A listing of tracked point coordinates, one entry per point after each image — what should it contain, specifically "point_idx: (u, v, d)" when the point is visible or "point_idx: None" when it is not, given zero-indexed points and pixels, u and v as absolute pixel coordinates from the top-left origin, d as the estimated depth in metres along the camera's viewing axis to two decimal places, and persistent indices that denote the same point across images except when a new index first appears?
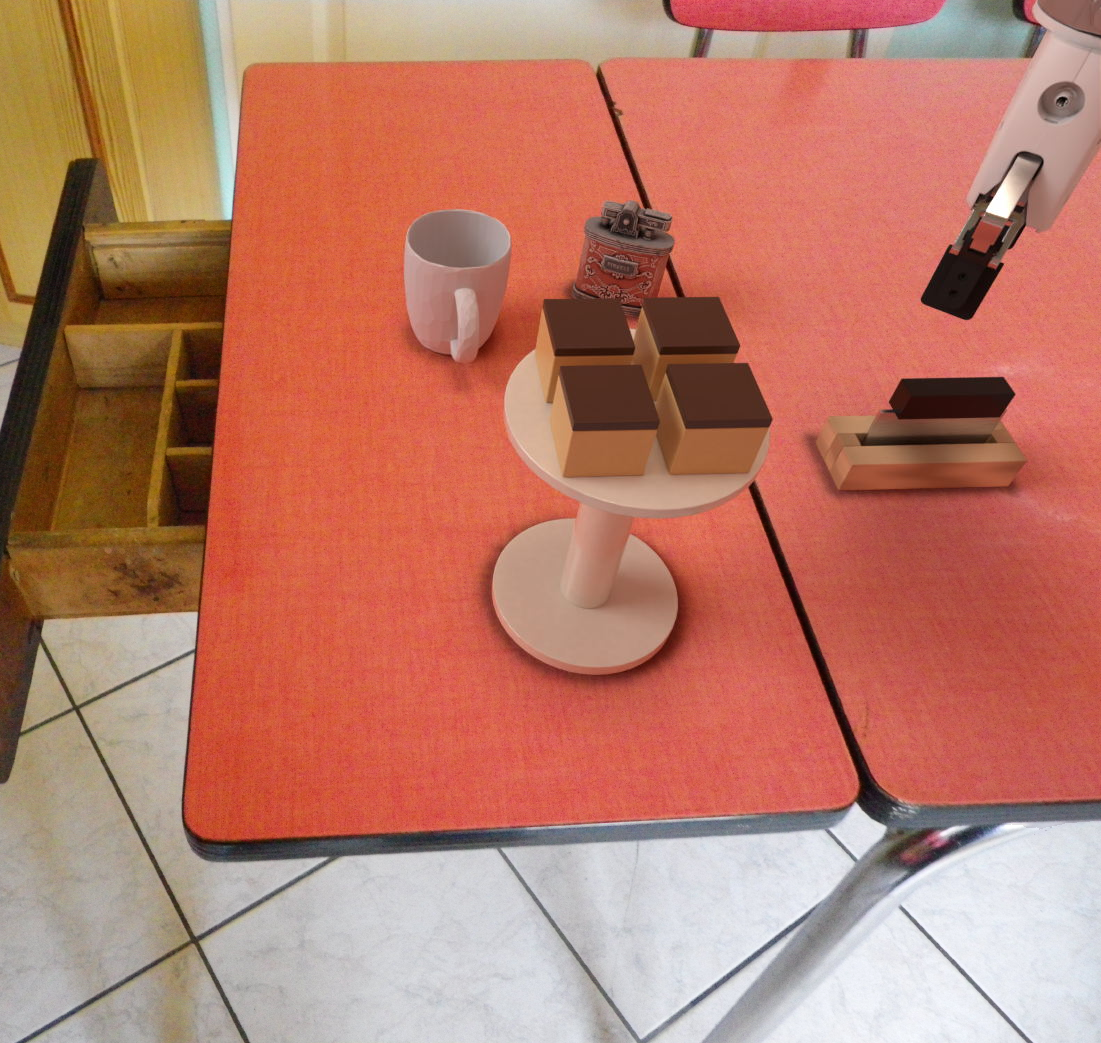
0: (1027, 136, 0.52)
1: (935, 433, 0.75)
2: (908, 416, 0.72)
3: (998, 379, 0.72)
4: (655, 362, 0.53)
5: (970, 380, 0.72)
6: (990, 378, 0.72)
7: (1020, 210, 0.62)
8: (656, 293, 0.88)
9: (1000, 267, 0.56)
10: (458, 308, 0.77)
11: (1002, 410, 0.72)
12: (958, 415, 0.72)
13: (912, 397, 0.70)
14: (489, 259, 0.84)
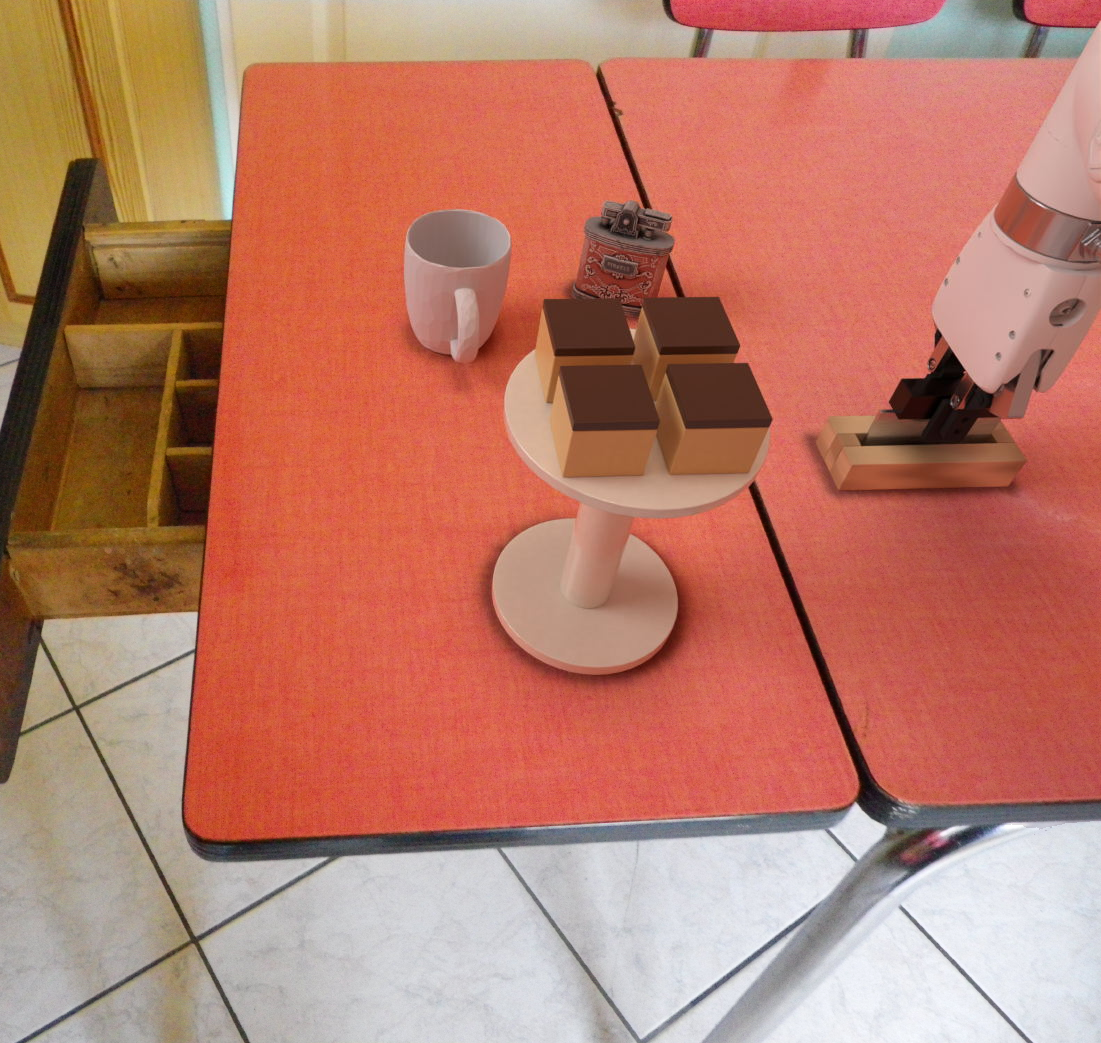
0: (1042, 340, 0.62)
1: None
2: (908, 416, 0.72)
3: None
4: (655, 362, 0.53)
5: None
6: None
7: None
8: (656, 293, 0.88)
9: None
10: (458, 308, 0.77)
11: None
12: None
13: (912, 397, 0.70)
14: (489, 259, 0.84)
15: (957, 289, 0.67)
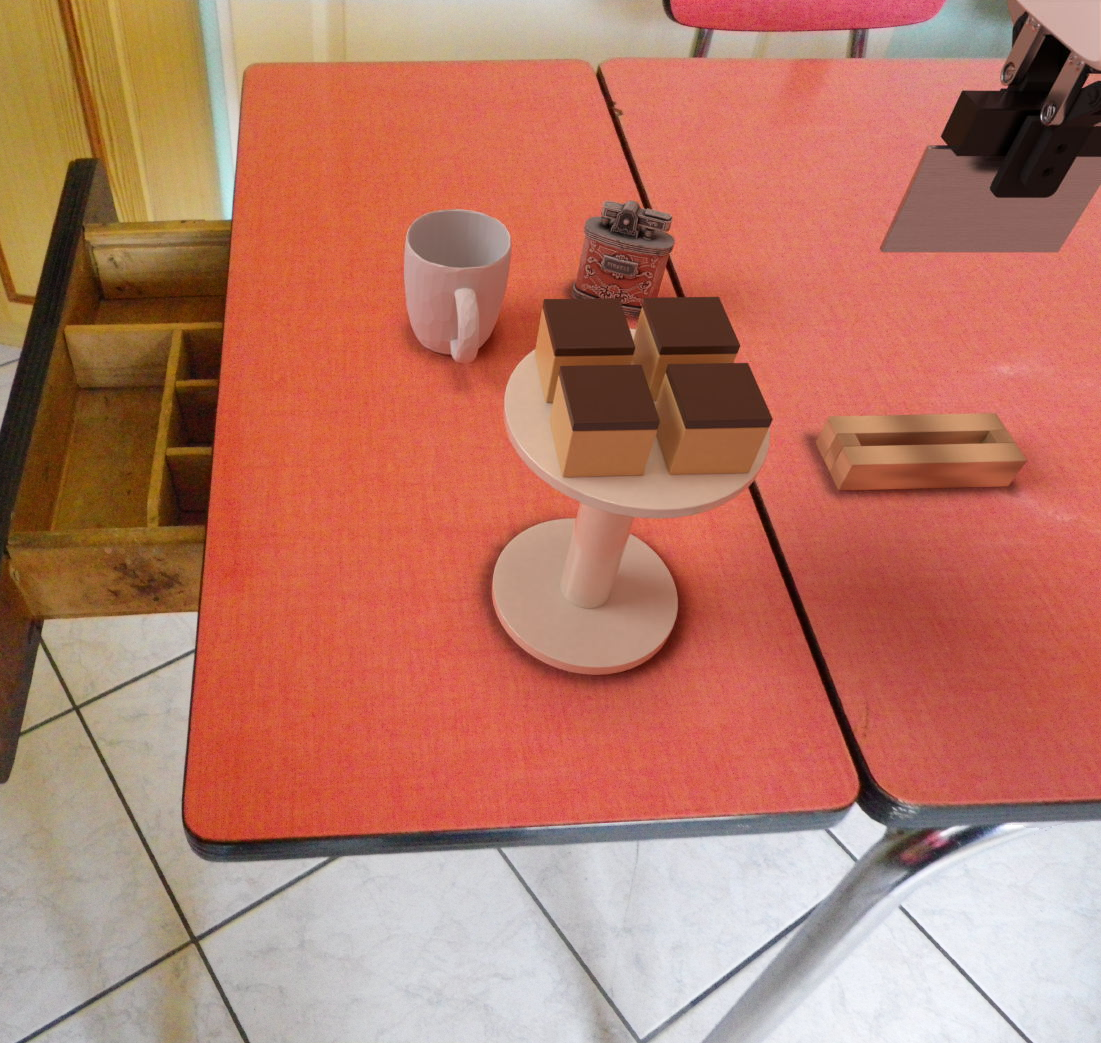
0: None
1: None
2: (971, 149, 0.47)
3: None
4: (655, 362, 0.53)
5: None
6: None
7: None
8: (656, 293, 0.88)
9: None
10: (458, 308, 0.77)
11: None
12: None
13: (980, 110, 0.45)
14: (489, 259, 0.84)
15: None
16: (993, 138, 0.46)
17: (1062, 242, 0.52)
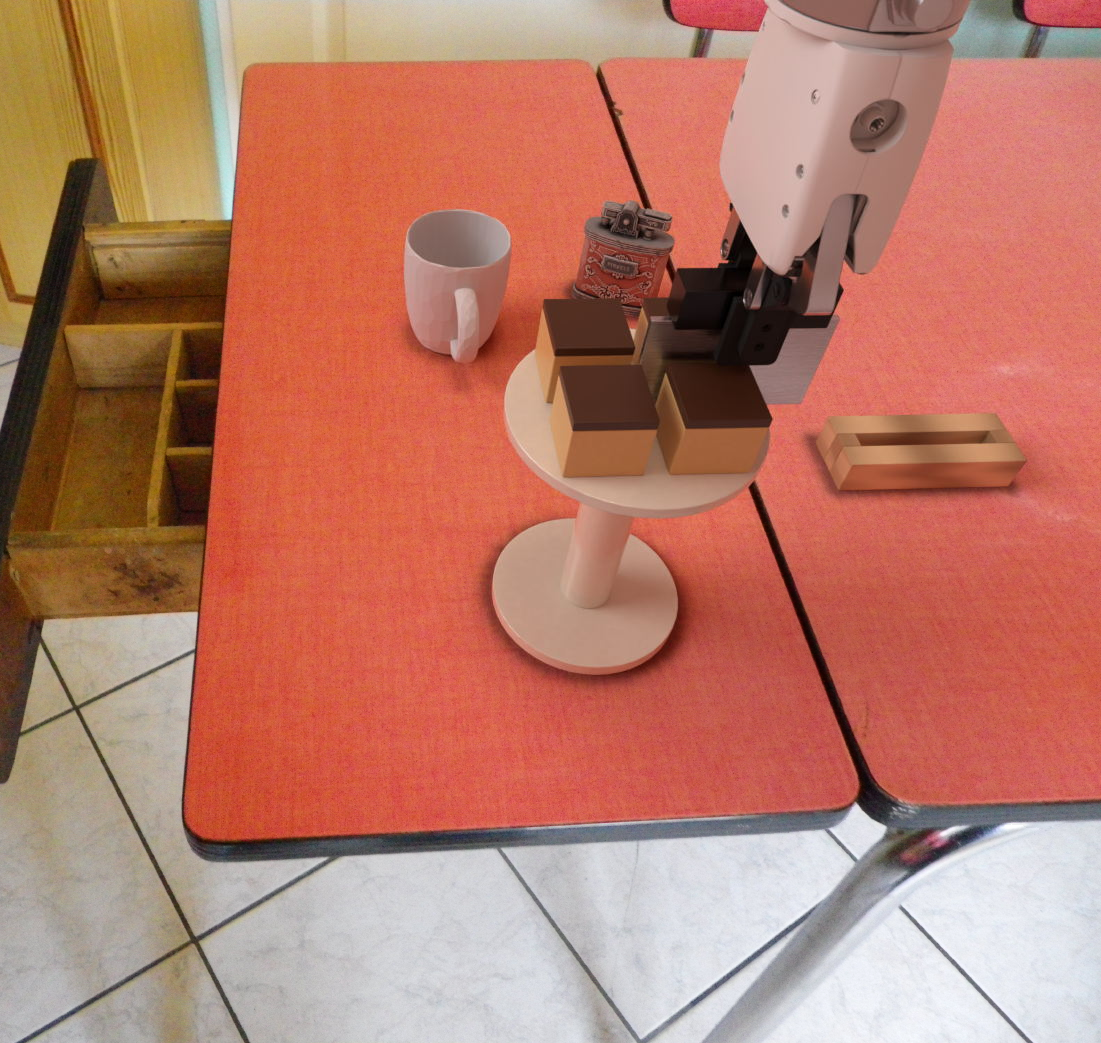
0: (844, 177, 0.38)
1: None
2: (688, 324, 0.48)
3: None
4: None
5: None
6: None
7: None
8: (656, 293, 0.88)
9: None
10: (458, 308, 0.77)
11: (828, 316, 0.49)
12: None
13: (687, 292, 0.47)
14: (489, 259, 0.84)
15: (741, 120, 0.44)
16: (706, 315, 0.48)
17: (803, 396, 0.54)
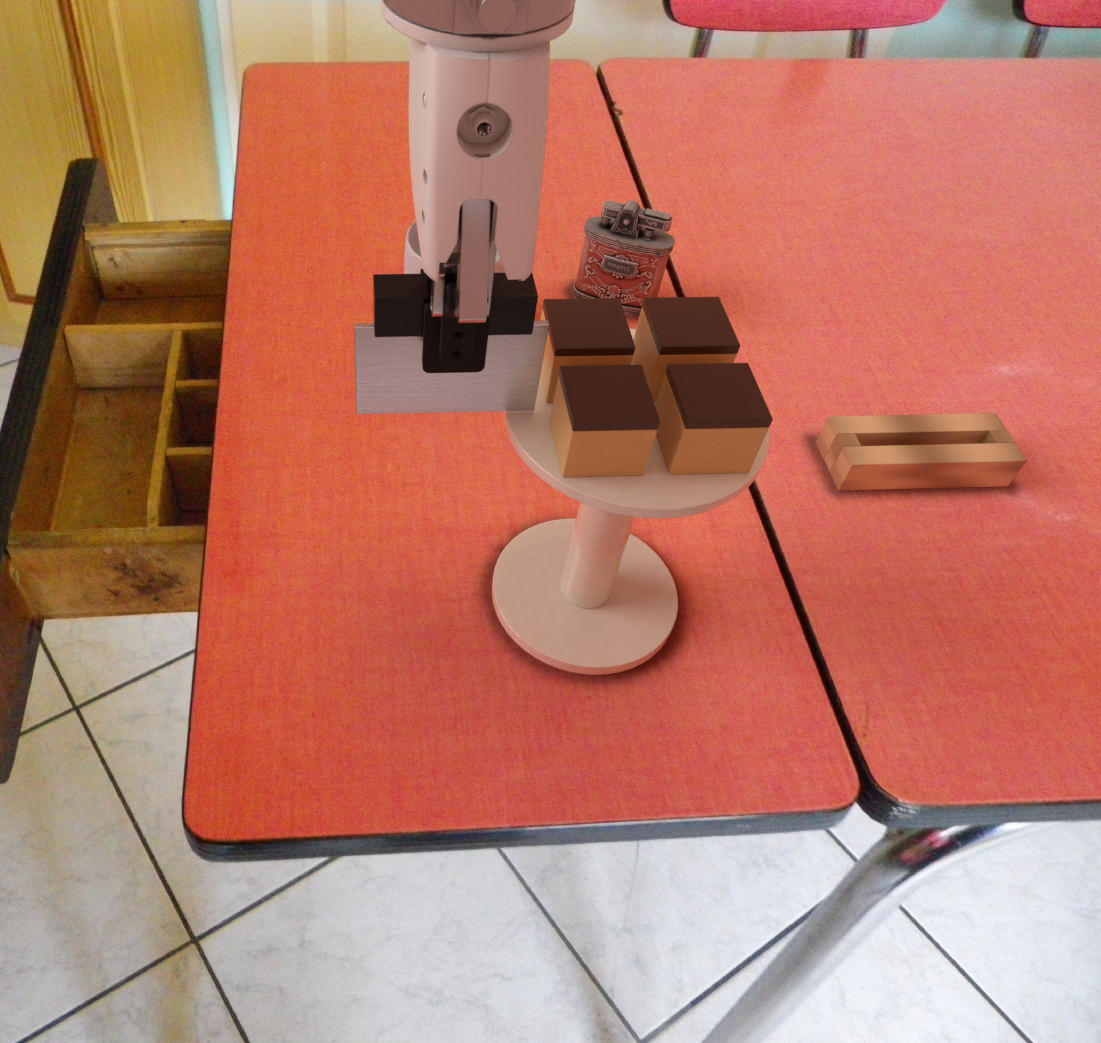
0: (464, 182, 0.37)
1: None
2: (386, 331, 0.48)
3: None
4: (655, 362, 0.53)
5: None
6: None
7: None
8: (656, 293, 0.88)
9: (489, 309, 0.46)
10: None
11: (530, 322, 0.48)
12: None
13: (376, 299, 0.46)
14: None
15: None
16: (403, 321, 0.47)
17: (533, 402, 0.53)
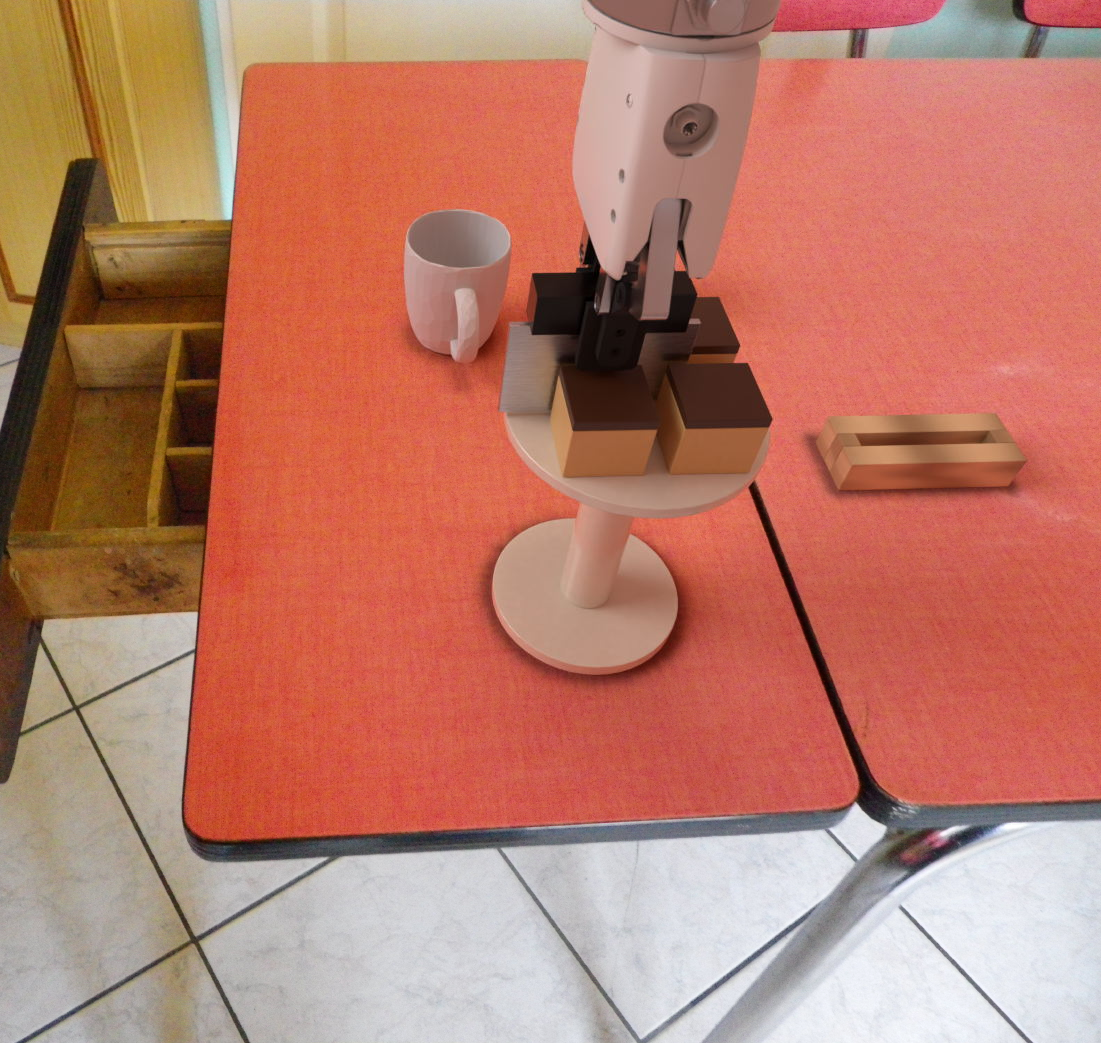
0: (663, 181, 0.38)
1: None
2: (544, 329, 0.48)
3: (678, 274, 0.48)
4: None
5: (635, 275, 0.48)
6: None
7: None
8: None
9: None
10: (458, 308, 0.77)
11: (685, 320, 0.48)
12: None
13: (539, 297, 0.47)
14: (489, 259, 0.84)
15: (582, 124, 0.44)
16: (562, 320, 0.48)
17: None
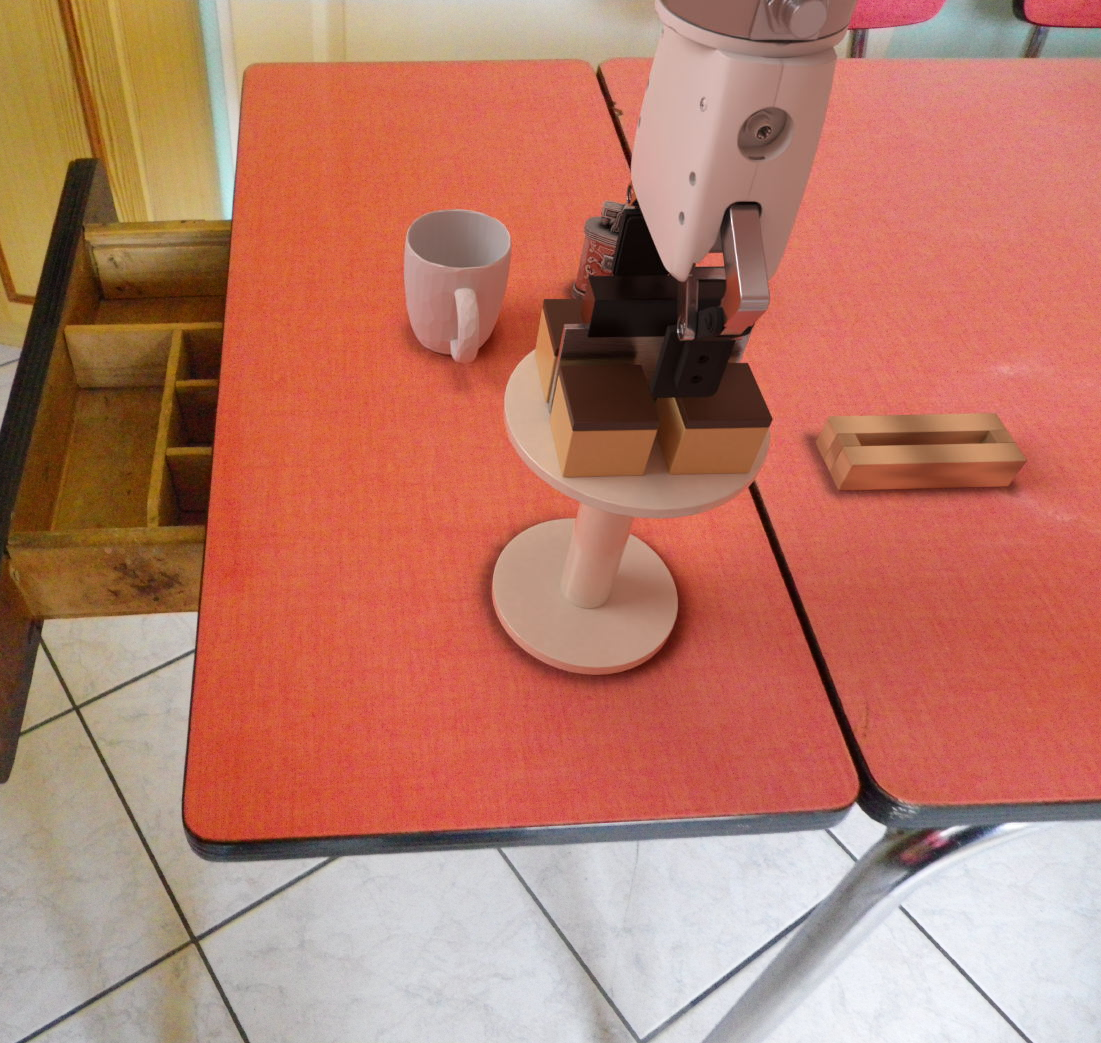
0: (735, 184, 0.38)
1: (656, 361, 0.51)
2: (600, 332, 0.49)
3: None
4: None
5: None
6: None
7: None
8: None
9: None
10: (458, 308, 0.77)
11: None
12: None
13: (596, 300, 0.47)
14: (489, 259, 0.84)
15: (645, 127, 0.44)
16: (618, 322, 0.48)
17: None
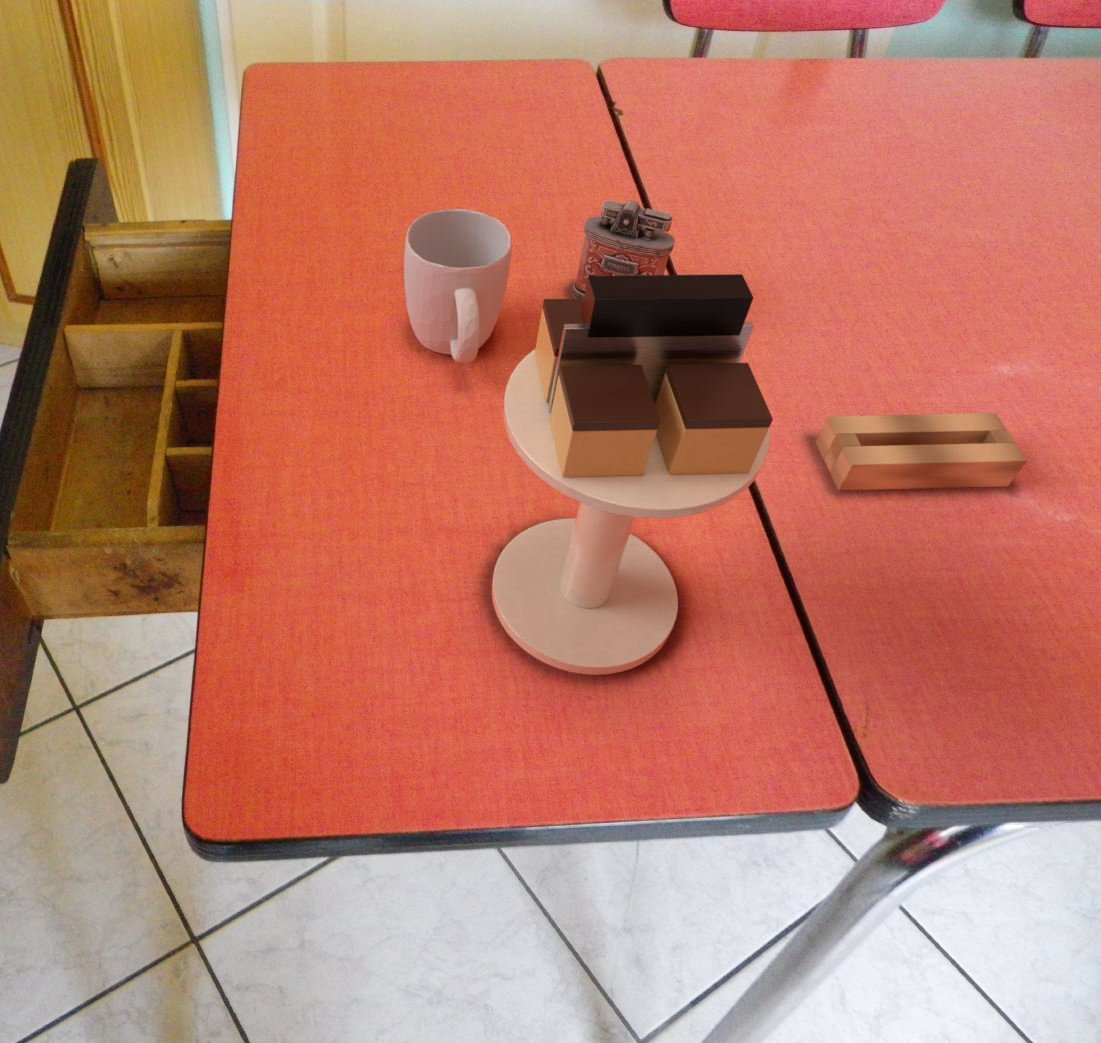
0: None
1: (656, 361, 0.51)
2: (600, 332, 0.49)
3: (733, 277, 0.49)
4: None
5: (690, 279, 0.48)
6: (721, 276, 0.49)
7: None
8: None
9: None
10: (458, 308, 0.77)
11: (740, 323, 0.49)
12: (676, 332, 0.49)
13: (596, 300, 0.47)
14: (489, 259, 0.84)
15: None
16: (618, 322, 0.48)
17: None
